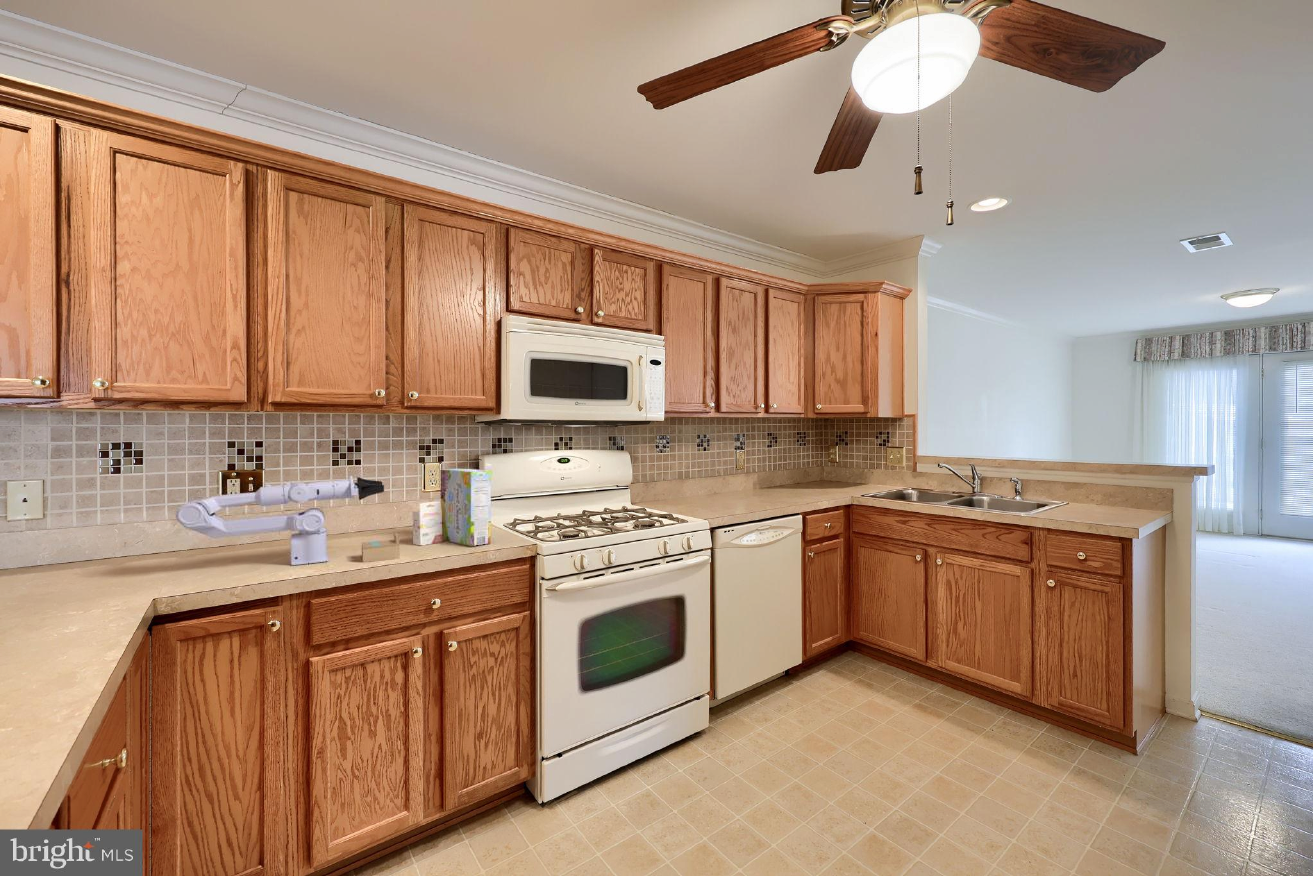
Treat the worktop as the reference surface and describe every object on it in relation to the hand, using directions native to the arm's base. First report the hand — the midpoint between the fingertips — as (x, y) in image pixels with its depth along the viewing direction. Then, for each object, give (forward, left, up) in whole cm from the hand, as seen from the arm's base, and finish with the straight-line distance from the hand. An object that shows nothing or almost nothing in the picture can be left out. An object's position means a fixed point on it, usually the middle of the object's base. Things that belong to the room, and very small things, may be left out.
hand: (383, 486), depth 180 cm
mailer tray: (-1, -6, -22) cm, 23 cm away
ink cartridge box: (+15, +10, -22) cm, 28 cm away
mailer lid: (-1, -6, -18) cm, 19 cm away
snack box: (+27, +6, -22) cm, 35 cm away
